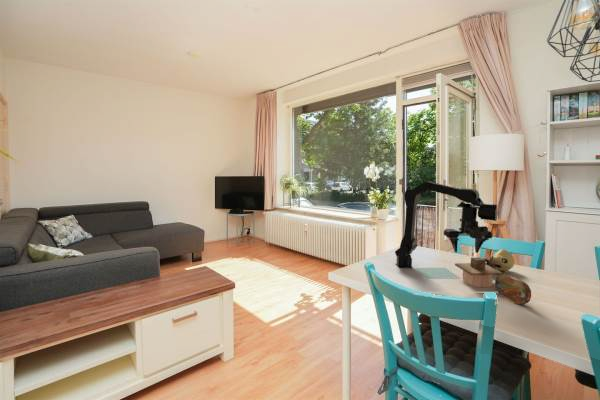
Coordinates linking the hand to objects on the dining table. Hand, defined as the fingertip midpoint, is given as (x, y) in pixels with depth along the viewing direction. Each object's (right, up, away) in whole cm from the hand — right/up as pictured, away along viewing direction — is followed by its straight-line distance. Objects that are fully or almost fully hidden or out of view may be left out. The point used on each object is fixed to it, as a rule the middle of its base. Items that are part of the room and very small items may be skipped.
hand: (466, 252), depth 136 cm
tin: (+7, -15, -19) cm, 25 cm away
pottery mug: (+14, -12, +9) cm, 20 cm away
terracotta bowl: (+3, -13, -3) cm, 13 cm away
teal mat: (-9, -12, +9) cm, 17 cm away
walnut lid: (+3, -7, -4) cm, 8 cm away
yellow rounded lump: (+23, -11, +12) cm, 28 cm away
